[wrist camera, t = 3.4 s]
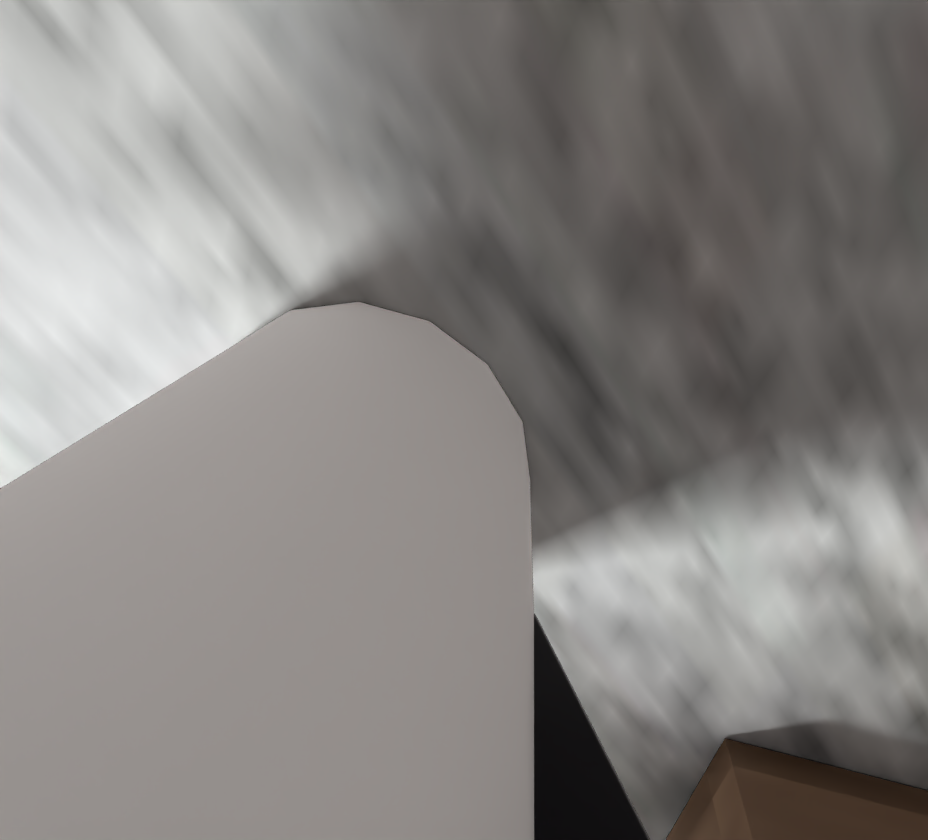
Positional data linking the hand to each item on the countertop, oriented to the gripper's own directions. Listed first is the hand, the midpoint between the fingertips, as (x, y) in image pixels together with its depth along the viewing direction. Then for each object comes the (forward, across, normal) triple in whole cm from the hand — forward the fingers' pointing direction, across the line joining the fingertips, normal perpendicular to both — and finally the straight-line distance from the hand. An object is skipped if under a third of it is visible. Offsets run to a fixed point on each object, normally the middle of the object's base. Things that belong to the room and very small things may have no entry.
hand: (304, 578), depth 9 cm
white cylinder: (+3, 0, 0) cm, 3 cm away
